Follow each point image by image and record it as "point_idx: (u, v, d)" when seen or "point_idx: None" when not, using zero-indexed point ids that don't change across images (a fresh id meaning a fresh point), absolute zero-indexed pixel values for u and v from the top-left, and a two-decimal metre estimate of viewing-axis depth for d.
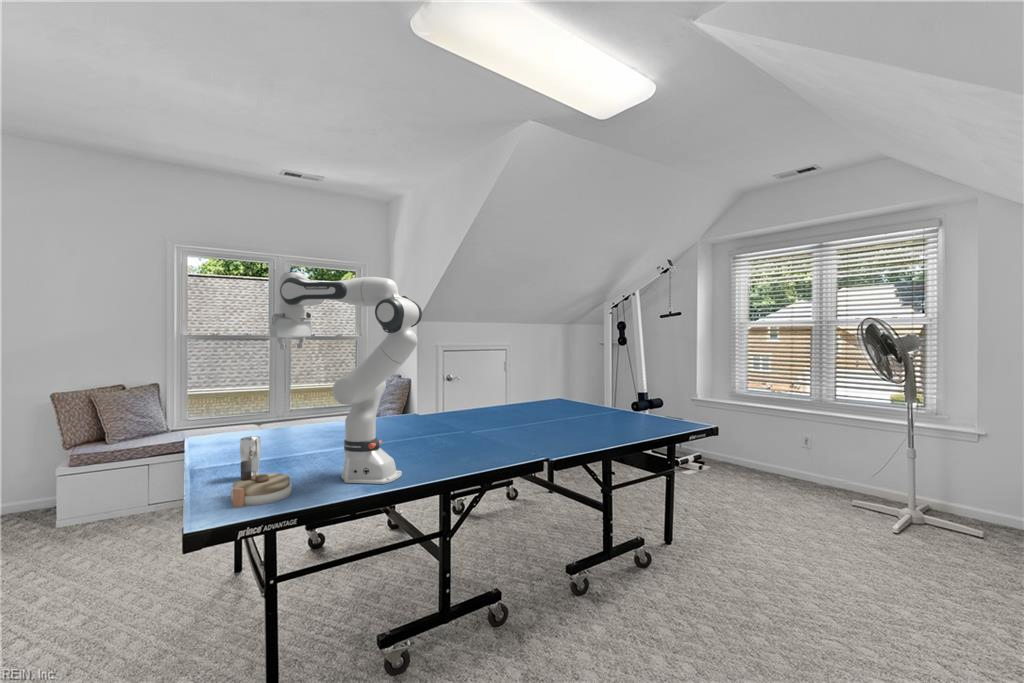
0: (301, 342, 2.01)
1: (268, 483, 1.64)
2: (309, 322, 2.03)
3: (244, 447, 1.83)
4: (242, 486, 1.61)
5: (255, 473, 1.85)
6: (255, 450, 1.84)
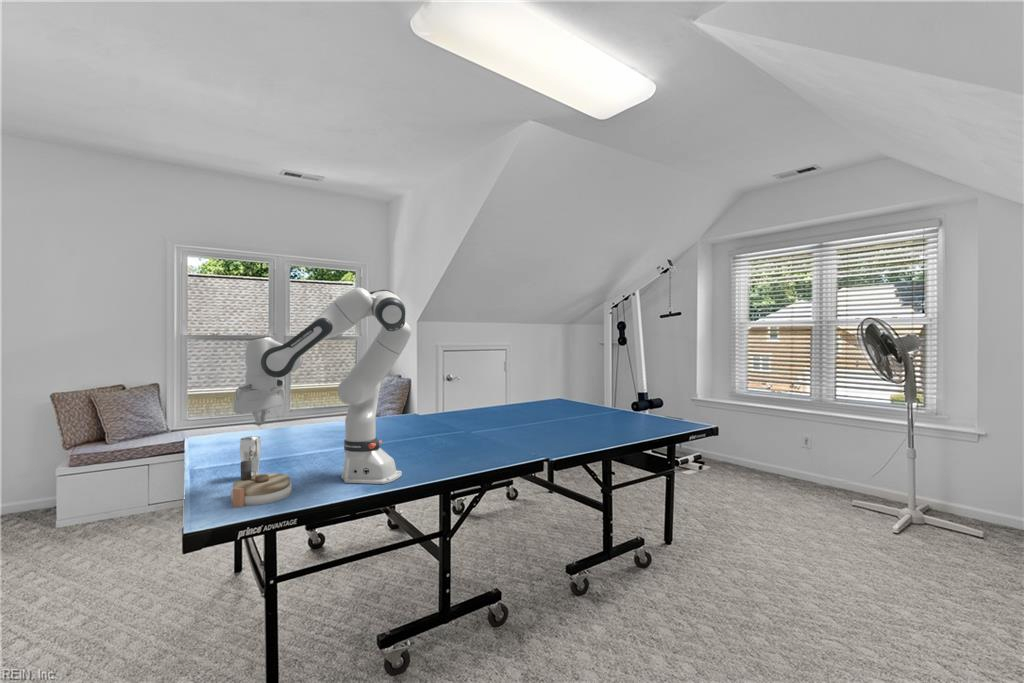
0: (263, 415, 1.75)
1: (268, 483, 1.64)
2: (281, 390, 1.81)
3: (244, 447, 1.83)
4: (242, 486, 1.61)
5: (255, 473, 1.85)
6: (255, 450, 1.84)
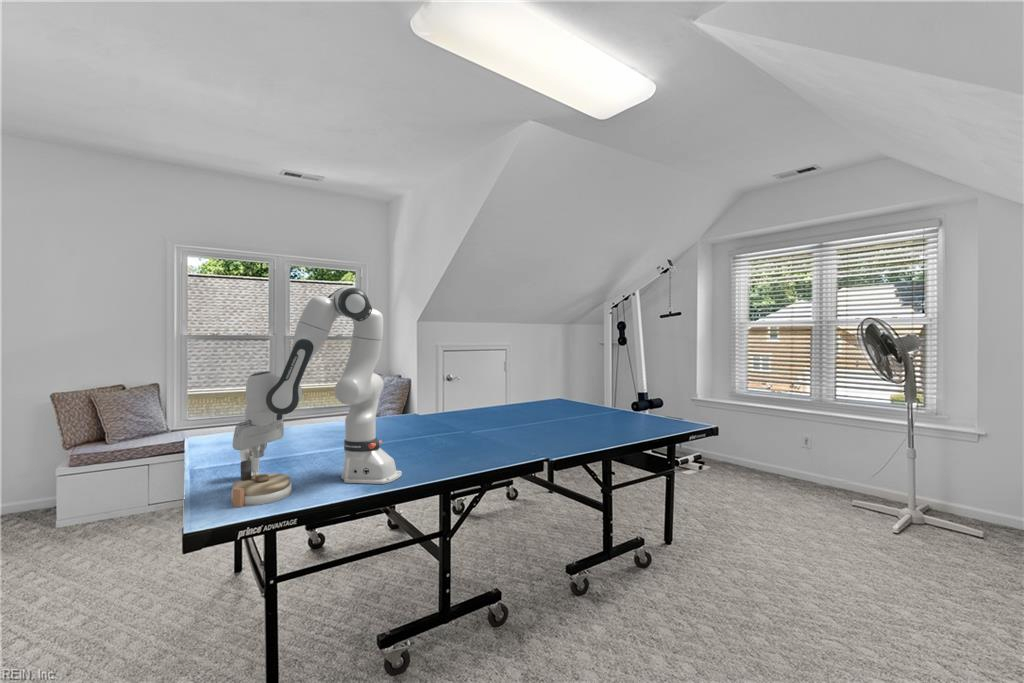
0: (262, 449, 1.75)
1: (268, 483, 1.64)
2: (280, 423, 1.81)
3: None
4: (242, 486, 1.61)
5: (255, 473, 1.85)
6: None
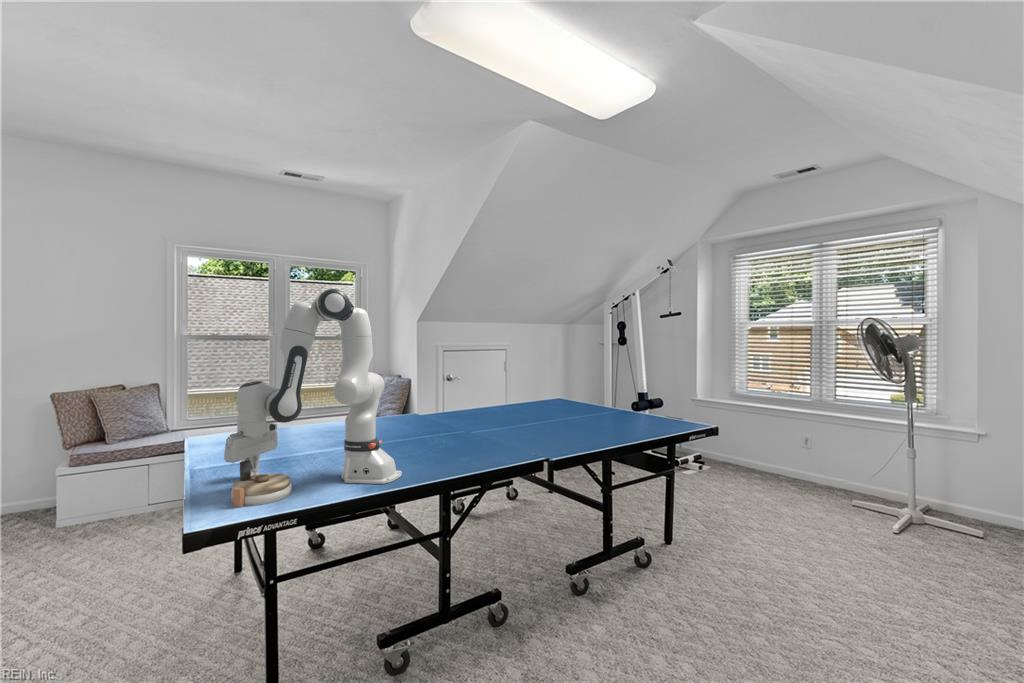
0: (254, 461, 1.72)
1: (269, 483, 1.64)
2: (273, 434, 1.78)
3: None
4: (242, 486, 1.61)
5: (255, 473, 1.85)
6: None
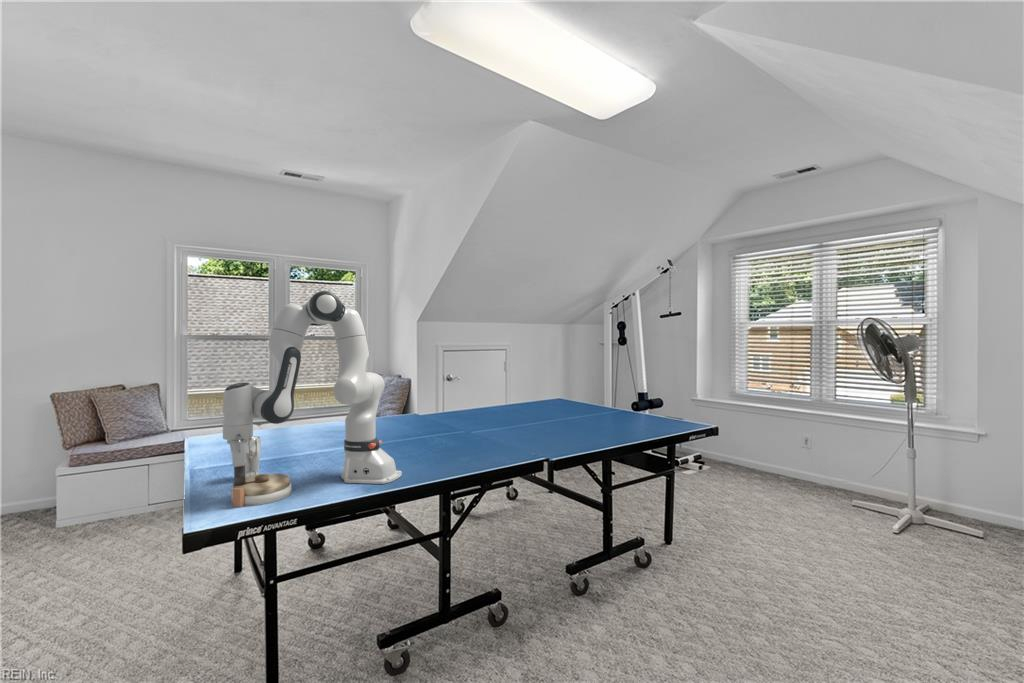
0: None
1: (276, 480, 1.68)
2: None
3: None
4: (259, 487, 1.60)
5: (255, 473, 1.85)
6: (255, 450, 1.84)
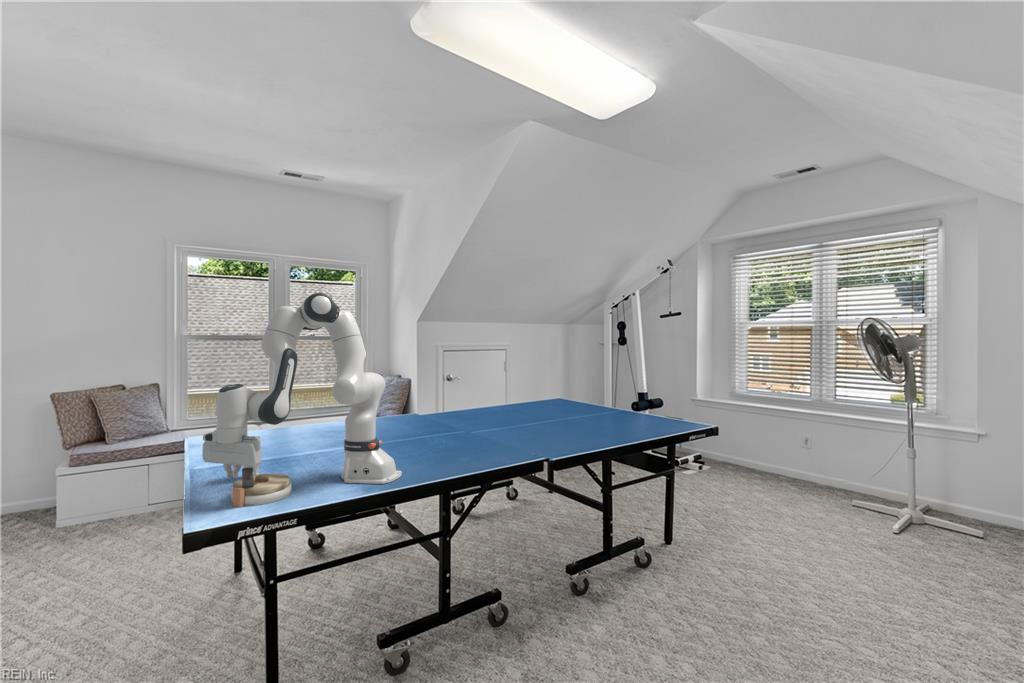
0: (230, 469, 1.62)
1: (274, 477, 1.70)
2: None
3: None
4: (276, 483, 1.64)
5: (255, 473, 1.85)
6: None
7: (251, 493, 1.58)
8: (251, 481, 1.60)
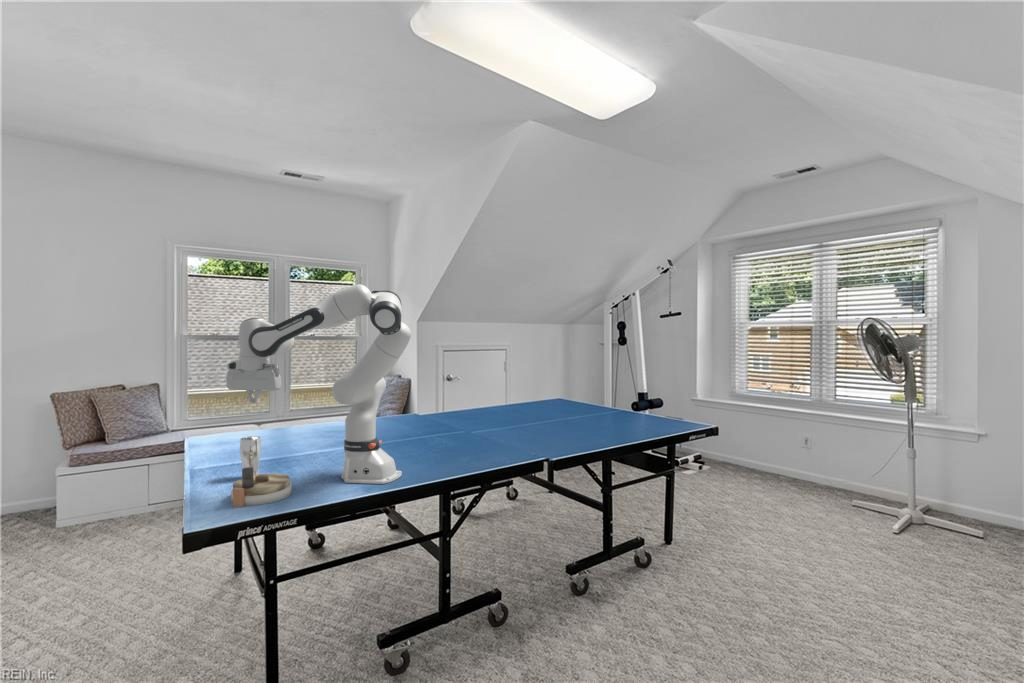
0: (252, 395, 1.77)
1: (274, 477, 1.70)
2: None
3: (244, 447, 1.83)
4: (276, 483, 1.64)
5: (255, 473, 1.85)
6: (255, 450, 1.84)
7: (251, 493, 1.58)
8: (251, 481, 1.60)
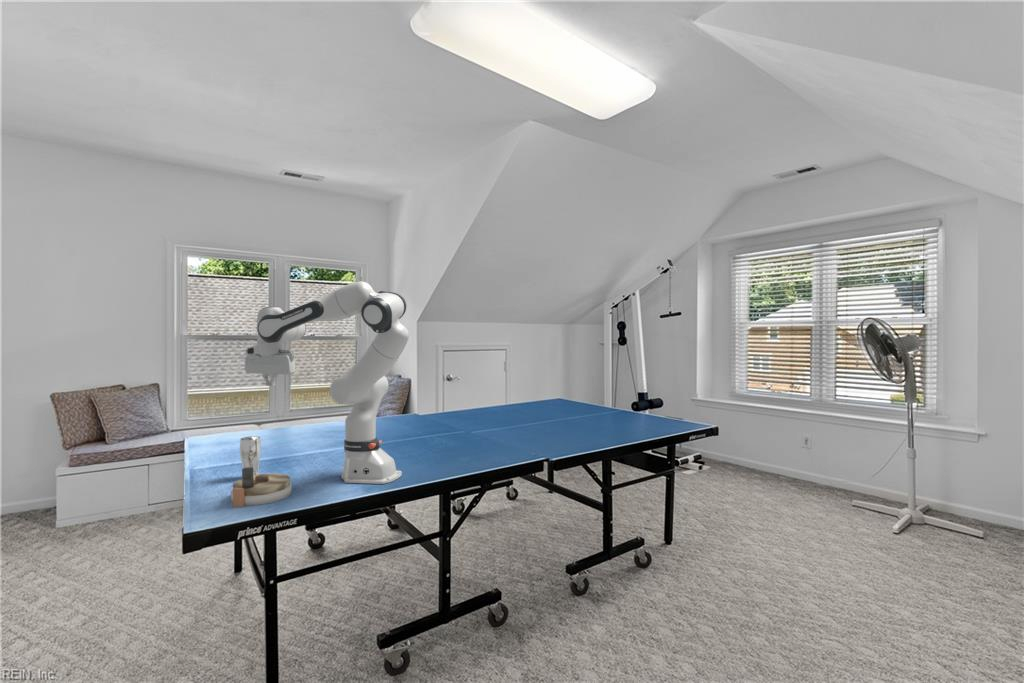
0: (268, 379, 1.91)
1: (274, 477, 1.70)
2: None
3: (244, 447, 1.83)
4: (276, 483, 1.64)
5: (255, 473, 1.85)
6: (255, 450, 1.84)
7: (251, 493, 1.58)
8: (251, 481, 1.60)
